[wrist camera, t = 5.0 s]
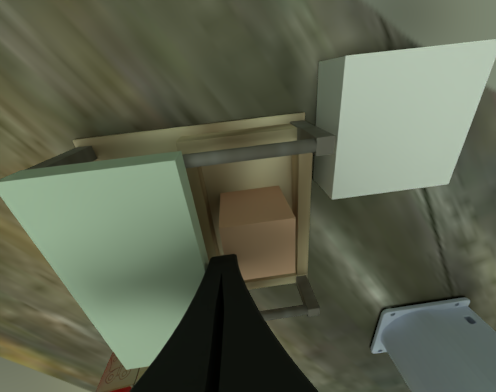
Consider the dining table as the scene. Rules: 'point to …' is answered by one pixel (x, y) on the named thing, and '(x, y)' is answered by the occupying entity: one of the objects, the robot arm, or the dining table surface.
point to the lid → (118, 243)
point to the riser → (398, 116)
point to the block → (258, 231)
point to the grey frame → (233, 176)
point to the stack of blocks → (119, 376)
